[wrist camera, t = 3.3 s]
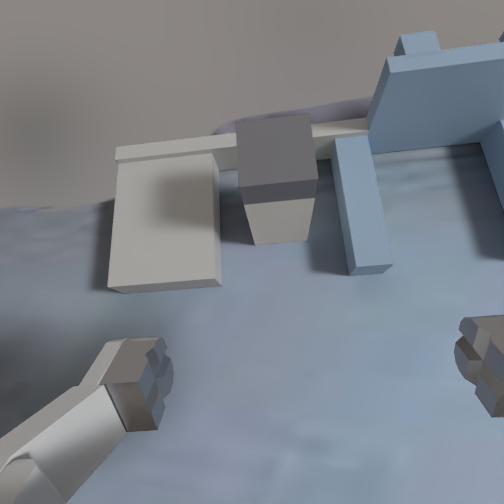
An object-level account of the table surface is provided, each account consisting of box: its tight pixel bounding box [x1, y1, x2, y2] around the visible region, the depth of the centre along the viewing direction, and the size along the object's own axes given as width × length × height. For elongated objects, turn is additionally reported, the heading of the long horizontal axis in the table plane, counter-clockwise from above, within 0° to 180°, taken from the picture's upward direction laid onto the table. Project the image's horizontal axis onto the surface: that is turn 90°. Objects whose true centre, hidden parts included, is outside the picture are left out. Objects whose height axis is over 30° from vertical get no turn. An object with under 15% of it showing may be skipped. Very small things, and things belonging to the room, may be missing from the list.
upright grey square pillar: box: [235, 114, 319, 245], centre depth 21 cm, size 4×4×9 cm
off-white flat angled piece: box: [107, 118, 369, 294], centre depth 24 cm, size 19×11×3 cm, turn 93°
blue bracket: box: [330, 31, 504, 276], centre depth 21 cm, size 13×13×8 cm
